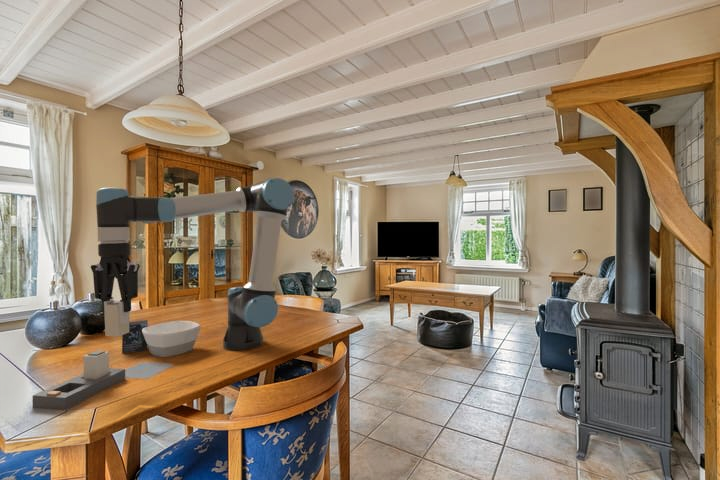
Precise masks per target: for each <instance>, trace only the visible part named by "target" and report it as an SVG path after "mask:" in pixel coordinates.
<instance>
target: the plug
mask: <svg viewBox="0 0 720 480" xmlns="http://www.w3.org/2000/svg"><path fill="white" fill-rule="evenodd" d="M109 368H110V351H106V350H95V351H91V352H89V353H87V354H85V355H83V374H84V379H99V378H101V377H103V376H105V375H107V374H109Z"/></svg>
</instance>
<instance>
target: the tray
mask: <svg viewBox="0 0 720 480" xmlns="http://www.w3.org/2000/svg"><path fill="white" fill-rule="evenodd" d="M174 365H175V363H170V362H169V363H167V362H166V363H165V362H153V361H152V362H149V361H140V362H139V363H137V364H135V365H133V366H130V367H128V368H126V369H125V379H126V378H129V379H141V380H143V379H144V380H149V379H150V378H153V377H154V376H156V375H158V374H160V373H161V372H163V371H166V370H167V369H169V368H170V367H172V366H174Z"/></svg>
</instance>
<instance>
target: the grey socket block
mask: <svg viewBox="0 0 720 480" xmlns="http://www.w3.org/2000/svg"><path fill="white" fill-rule="evenodd" d="M125 370H126V369H125V368H114V367H113V368H112V367H111V368H110V367H109V374H107V375H105V376H103V377H101V378H99V379H84V373H82V374H79V375H77V376H75V377H72V378H70V379H67V380H66V381H63V382H61V383H58V384H56V385H53V386H52V387H49V388H47V389H44V390H42V391H40V392H37V393H35V394H32V409H42V410H45V409H46V410H56V411H67V410H68V409H70V408H73V407H74V406H76V405H78V404H80V403H82V402H84V401H86V400H88V399H89V398H91V397H93V396H95V395H97V394H99V393H101V392H103V391H105V390H107V389H109V388H111V387H113V386H115V385H117V384H119V383H121V382H123V381H126V378H125Z"/></svg>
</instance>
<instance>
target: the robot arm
mask: <svg viewBox="0 0 720 480" xmlns="http://www.w3.org/2000/svg"><path fill="white" fill-rule="evenodd" d="M294 199H295V194H294V190H293V187H292V186H291V185H290V183H289V181H286V180H285V179H283V178H278V177H271V178H267V179H266V180H263V181H260V182H256V183H253V184H251V185H248V186H243V187H238V188H236V190H230V191H223V192H213V193H206V194H205V193H204V194H196V195H195V194H194V195H186V196H184V195H183V196H176V197H162V196H160V197H159V196H158V197H156V196H155V197H154V196H132V195H130V194H129V190H127V189H125V188H120V187H119V188H117V187H102V188H99V189H97V191H96V199H95V201H96V204H95V205H96V206H95V207H96V220H97V221H96V223H97V224H96V225H97V241H98V242H99V243H98V245H97V251H98V254H97V255H98V256H99V257H100V260H99V262H98V263H97V264H91V265H90V269H91V272H92V273H93V274H92V276H93V292H94V298H95V300H100V301H101V303H102V307H101V308H102V312H103V314H104V315H105V311H104V305H106V304H108V303H110V302H114V301H115V299H114V297H113V296H112V295H113V289H114V283H115V279H116V280H117V284H118V288H119V289H118V290H119V294H120V300H119V301H120V302H119V312H120V324H125V323H128V322H131V321H130V318H131V316H130V312H131V311H132V300H133V299H135V298H138V295H139V294H138V293H139V291H138V289H139V288H138V287H139V286H138V285H139V283H138V281H139V277H138V276H139V275H138V274H139V273H138V272H139V269H140V264H139V263H133V262H131V261H132V260H130V255H131V243H129V241H131V235H130V232H131V231H130V222H133V223H137V222H139V223H143V224H146V225H148V224H154V223H169V222H170V223H171V222H173V221H175V220H179V219H187V218H193V217H200V216H206V215H207V216H208V215H215V214H221V213H229V212H236V211H240V212H241V213H247V212H249V213H250V212H254V214H255V215H256V216H257V221H256V222H257V223H256V228H255V236H254V241H253V247H252V256H251V262H250V269H249V275H248V281H247V283H246V284H244V285H243V286H236V287H235V286H234V287H230V288H229V289H228V290H227V327H226V330H225V333H224V337H223V340H222V348H224V349H225V350H228V351H248V350H252V349H255V348H260V347H261V346H262V345H264V336H263V332H262V330H261V328H264V327H267V326H269V325H270V324H271V323H273V322H274V320H275V319H276V317H277V315H278V313H279V305H278V304H279V303H278V301H277V300H276V299H275V298H276V291H277V289H276V288H275V286H274V285H273V283H274V276H275V275H274V274H275V269H276V262H277V255H278V254H277V253H278V248H279V240H280V234H281V233H280V232H281V226H282V221H284V220H285V219H287V214H288V209H289V208H290V207H291V206H292V205H293V202H294Z"/></svg>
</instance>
